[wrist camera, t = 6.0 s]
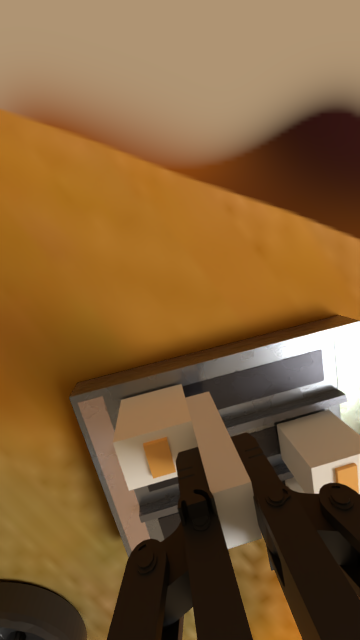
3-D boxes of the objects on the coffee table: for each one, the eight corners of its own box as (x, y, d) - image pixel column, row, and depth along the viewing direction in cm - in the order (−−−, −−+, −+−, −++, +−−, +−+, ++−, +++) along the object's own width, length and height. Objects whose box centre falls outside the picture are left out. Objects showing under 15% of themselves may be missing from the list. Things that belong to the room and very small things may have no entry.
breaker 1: (133, 438, 17) (128, 494, 13) (121, 399, 16) (112, 445, 12) (191, 422, 17) (204, 472, 13) (181, 383, 17) (192, 423, 12)
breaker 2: (281, 458, 19) (318, 512, 15) (276, 424, 18) (313, 471, 14) (331, 443, 19) (381, 492, 15) (328, 409, 18) (379, 451, 14)
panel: (133, 538, 22) (131, 578, 19) (77, 382, 18) (64, 404, 15) (350, 472, 23) (377, 501, 20) (339, 315, 19) (370, 323, 17)
